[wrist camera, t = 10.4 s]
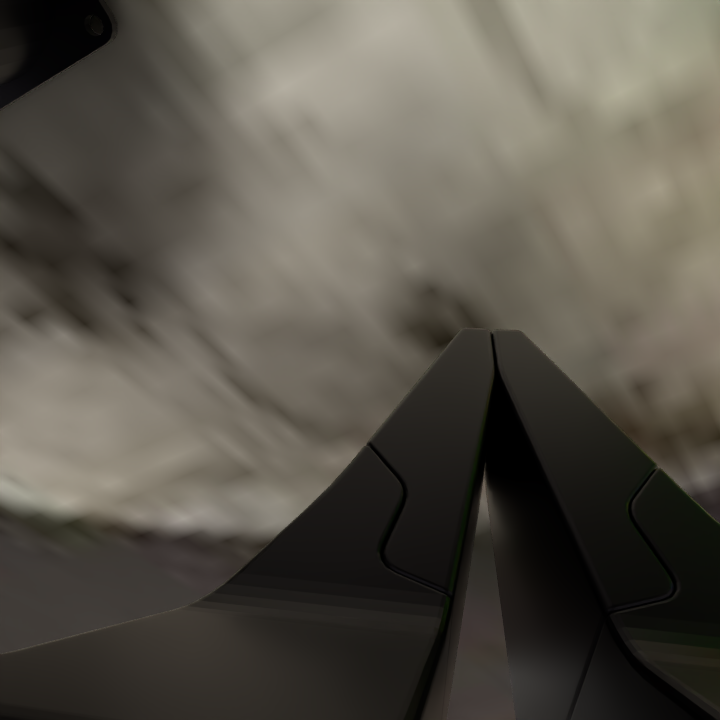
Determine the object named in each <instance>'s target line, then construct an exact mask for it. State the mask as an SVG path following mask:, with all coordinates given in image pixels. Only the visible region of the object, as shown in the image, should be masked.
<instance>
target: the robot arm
mask: <svg viewBox="0 0 720 720" xmlns="http://www.w3.org/2000/svg"><path fill="white" fill-rule="evenodd" d="M93 15H95V16H97V17H98V18H99V19H100V20H101V21H102V23H103V32H102V33H101V35H100V34H97V33H95V32H94V31H93V30H92V28H91V25H90V18H91V17H92V16H93ZM116 34H117V22H116V20H115V17H114V15H113V13H112V12H111V10H110V8H109V7H108V5H107V4H106V2H105V0H0V110H2V109H3V108H5V107H7V106H8V105H10V104H12V103H13V102H15V101H16V100H18V99H20V98H21V97H23V96H25V95H26V94H28V93H29V92H31V91H33V90H34V89H36V88H37V87H39V86H41V85H42V84H44V83H46V82H47V81H49V80H50V79H52V78H54V77H55V76H57V75H59V74H60V73H62V72H63V71H65V70H67V69H68V68H70V67H72V66H73V65H75V64H76V63H78V62H80V61H81V60H83V59H84V58H86V57H88V56H89V55H91V54H93V53H94V52H96V51H97V50H99V49H101V48H102V47H104V46H106V45H107V44H109V43H110V42H111V41H112V40H113V39H114V38H115V37H116ZM484 469H485V485H486V495H487V503H488V510H489V518H490V526H491V533H492V541H493V549H494V556H495V564H496V572H497V579H498V587H499V595H500V602H501V610H502V617H503V625H504V633H505V640H506V648H507V656H508V663H509V671H510V679H511V686H512V694H513V702H514V709H515V717H516V720H720V523H719V522H717V521H716V520H715V519H714V518H713V517H712V516H711V515H709V514H708V513H707V512H706V511H705V510H704V509H703V508H702V507H701V506H700V505H699V504H698V503H697V502H696V501H694V500H693V499H692V498H691V497H690V496H689V495H688V494H687V493H686V492H685V491H684V490H683V489H682V488H681V487H680V486H679V485H678V484H677V483H676V482H674V481H673V480H672V479H671V478H670V477H669V476H668V475H667V474H666V473H665V472H664V471H663V470H662V469H660V468H658V469H657V464H656V463H655V462H654V461H653V460H652V459H651V458H650V457H649V456H648V455H647V454H646V453H645V452H644V451H643V450H642V449H641V448H640V447H639V446H638V445H637V444H636V443H635V442H634V441H633V440H632V439H630V438H629V437H628V436H627V435H626V434H625V433H624V432H623V431H622V430H621V429H620V428H619V427H618V426H617V425H616V424H615V423H614V422H613V421H612V420H611V419H610V418H609V417H608V416H607V415H606V414H605V413H604V412H603V411H602V410H601V409H600V408H599V407H598V406H597V405H596V404H595V403H594V402H593V401H592V400H591V399H590V398H589V397H588V396H587V395H586V394H585V393H584V392H583V391H582V390H581V389H580V388H579V387H578V386H577V385H576V384H575V383H574V382H573V381H572V380H571V379H570V378H569V377H568V376H567V375H566V374H565V373H563V372H562V371H561V370H560V369H559V368H558V367H557V366H556V365H555V364H554V363H553V362H552V361H551V360H550V359H549V358H548V357H547V356H546V355H545V354H544V353H543V352H542V351H541V350H540V349H539V348H538V347H537V346H536V345H535V344H534V343H533V342H532V341H531V340H530V339H529V338H528V337H527V336H526V335H525V334H524V333H523V332H521V331H518V330H501V329H496V330H494V331H492V333H491V332H490V331H489V330H488V329H481V328H462V329H461V330H460V331H459V332H458V333H457V334H456V336H455V337H454V338H453V339H452V341H451V342H450V343H449V344H448V345H447V347H446V348H445V349H444V350H443V351H442V353H441V354H440V355H439V356H438V358H437V359H436V360H435V361H434V362H433V364H432V365H431V366H430V367H429V368H428V370H427V371H426V372H425V373H424V375H423V376H422V377H421V378H420V379H419V381H418V382H417V383H416V384H415V385H414V387H413V388H412V389H411V390H410V392H409V393H408V394H407V395H406V396H405V398H404V399H403V400H402V401H401V402H400V404H399V405H398V406H397V407H396V409H395V410H394V411H393V412H392V413H391V415H390V416H389V417H388V418H387V419H386V421H385V422H384V423H383V424H382V426H381V427H380V428H379V429H378V430H377V432H376V433H375V434H374V435H373V437H372V438H371V439H370V440H369V441H368V443H367V445H366V446H364V447H363V448H362V449H361V451H360V452H359V453H358V454H357V456H356V457H355V458H354V459H353V460H352V462H351V463H350V464H349V465H348V466H347V467H346V469H345V470H344V471H343V472H342V473H341V474H340V475H339V476H338V477H337V479H336V480H335V481H334V482H333V483H332V484H331V485H330V486H329V487H328V488H327V489H326V490H325V491H324V492H323V493H322V494H321V495H320V496H319V497H318V498H317V499H316V500H315V501H314V502H313V503H312V504H311V505H310V506H309V507H308V508H306V509H305V510H304V511H303V512H302V513H301V514H300V515H299V516H298V517H297V518H296V519H295V520H293V521H292V522H291V523H290V524H289V525H288V526H287V527H286V528H285V529H284V530H282V531H281V532H280V533H279V534H278V535H277V536H276V537H275V538H274V539H273V540H271V541H270V542H269V543H268V544H267V545H266V546H265V547H264V548H263V549H262V550H260V551H259V552H258V553H257V554H256V555H255V556H254V557H253V558H252V559H251V560H249V561H248V562H247V563H246V564H245V565H244V566H243V567H242V568H241V569H240V570H238V571H237V572H236V573H235V574H234V575H233V576H232V577H230V578H229V579H228V580H227V581H226V582H224V583H223V584H222V585H221V586H219V587H218V588H216V589H215V590H213V591H212V592H211V593H209V594H208V595H206V596H204V597H202V598H201V599H199V600H197V601H195V602H193V603H191V604H188V605H186V606H184V607H181V608H178V609H174V610H171V611H167V612H163V613H159V614H155V615H151V616H147V617H143V618H140V619H136V620H132V621H128V622H124V623H120V624H116V625H113V626H109V627H105V628H101V629H97V630H93V631H89V632H86V633H82V634H78V635H74V636H70V637H66V638H62V639H58V640H55V641H51V642H47V643H43V644H39V645H35V646H31V647H28V648H24V649H20V650H16V651H12V652H7V653H2V654H0V720H447V714H448V708H449V701H450V695H451V688H452V682H453V675H454V669H455V662H456V656H457V649H458V643H459V636H460V629H461V623H462V616H463V610H464V603H465V597H466V590H467V584H468V577H469V571H470V564H471V558H472V551H473V545H474V538H475V531H476V525H477V518H478V512H479V505H480V499H481V492H482V484H483V476H484Z"/></svg>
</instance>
